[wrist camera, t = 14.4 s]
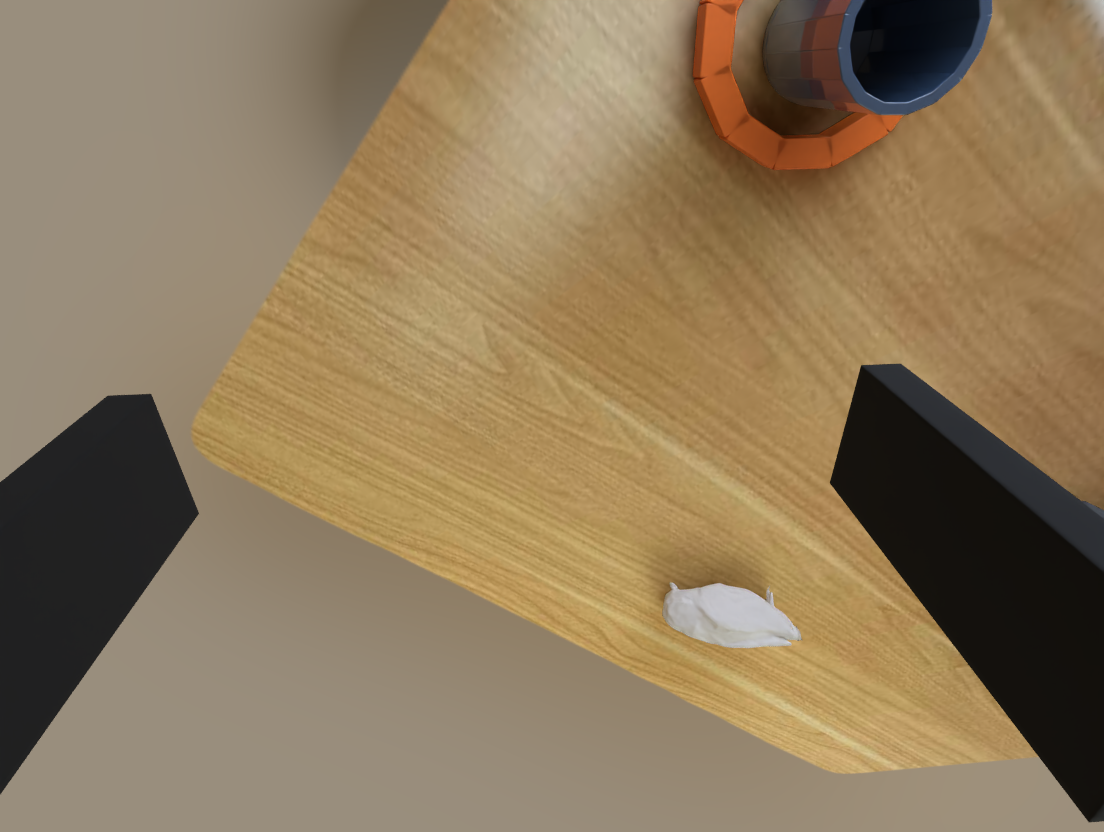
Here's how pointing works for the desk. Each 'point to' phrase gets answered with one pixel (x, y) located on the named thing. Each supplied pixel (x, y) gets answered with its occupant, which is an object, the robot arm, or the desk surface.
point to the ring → (749, 132)
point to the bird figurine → (728, 616)
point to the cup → (872, 51)
